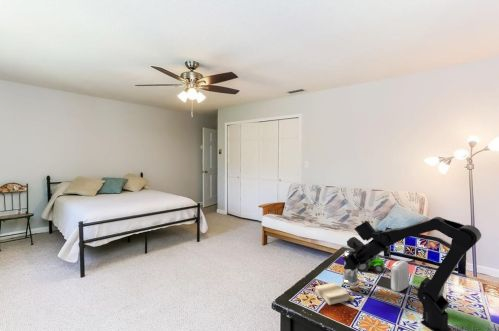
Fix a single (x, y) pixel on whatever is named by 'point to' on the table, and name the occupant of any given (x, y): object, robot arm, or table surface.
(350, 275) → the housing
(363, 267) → the toy tractor
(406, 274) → the photo printer
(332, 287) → the stand
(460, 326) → the table surface
